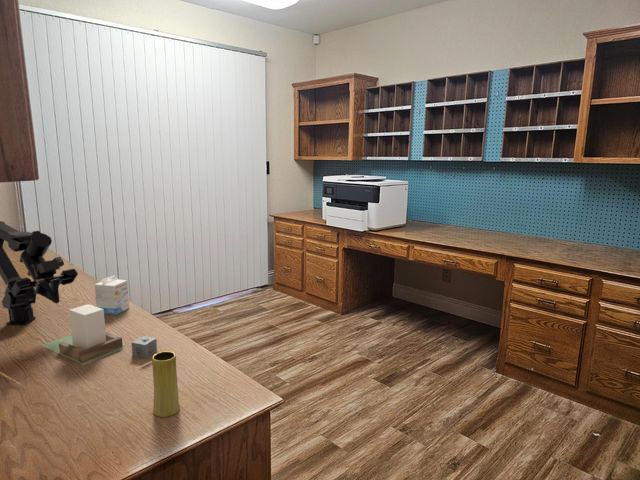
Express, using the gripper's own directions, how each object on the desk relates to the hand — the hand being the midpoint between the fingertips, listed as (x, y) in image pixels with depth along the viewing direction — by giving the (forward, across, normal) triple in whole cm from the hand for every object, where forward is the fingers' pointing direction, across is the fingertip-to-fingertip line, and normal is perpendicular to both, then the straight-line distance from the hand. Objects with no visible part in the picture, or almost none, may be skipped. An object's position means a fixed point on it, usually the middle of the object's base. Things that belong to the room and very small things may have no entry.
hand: (57, 302), depth 140 cm
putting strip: (+18, 0, 0) cm, 18 cm away
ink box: (+3, +25, +15) cm, 29 cm away
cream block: (+20, 0, -3) cm, 20 cm away
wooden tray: (+20, 0, -3) cm, 20 cm away
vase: (+52, -9, -35) cm, 63 cm away
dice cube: (+32, +7, -14) cm, 36 cm away
